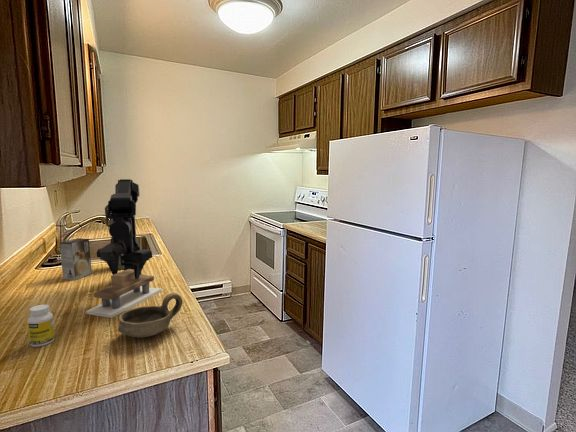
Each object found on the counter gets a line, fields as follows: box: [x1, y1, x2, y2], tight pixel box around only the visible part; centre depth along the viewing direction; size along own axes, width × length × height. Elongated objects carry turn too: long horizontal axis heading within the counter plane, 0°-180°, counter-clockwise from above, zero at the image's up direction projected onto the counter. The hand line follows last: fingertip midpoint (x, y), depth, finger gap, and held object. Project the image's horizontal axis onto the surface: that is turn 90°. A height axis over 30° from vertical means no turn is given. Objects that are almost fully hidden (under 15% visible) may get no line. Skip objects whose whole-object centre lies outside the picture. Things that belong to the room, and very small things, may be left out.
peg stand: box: [85, 282, 163, 319], centre depth 114 cm, size 24×10×5 cm, turn 164°
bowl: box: [117, 292, 183, 338], centre depth 92 cm, size 14×18×10 cm
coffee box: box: [59, 237, 93, 281], centre depth 139 cm, size 9×6×16 cm
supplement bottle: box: [27, 304, 56, 348], centre depth 86 cm, size 5×5×10 cm
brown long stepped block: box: [93, 269, 155, 300], centre depth 113 cm, size 20×7×6 cm, turn 164°
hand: (125, 277), depth 113 cm, fingers open, 9 cm apart
